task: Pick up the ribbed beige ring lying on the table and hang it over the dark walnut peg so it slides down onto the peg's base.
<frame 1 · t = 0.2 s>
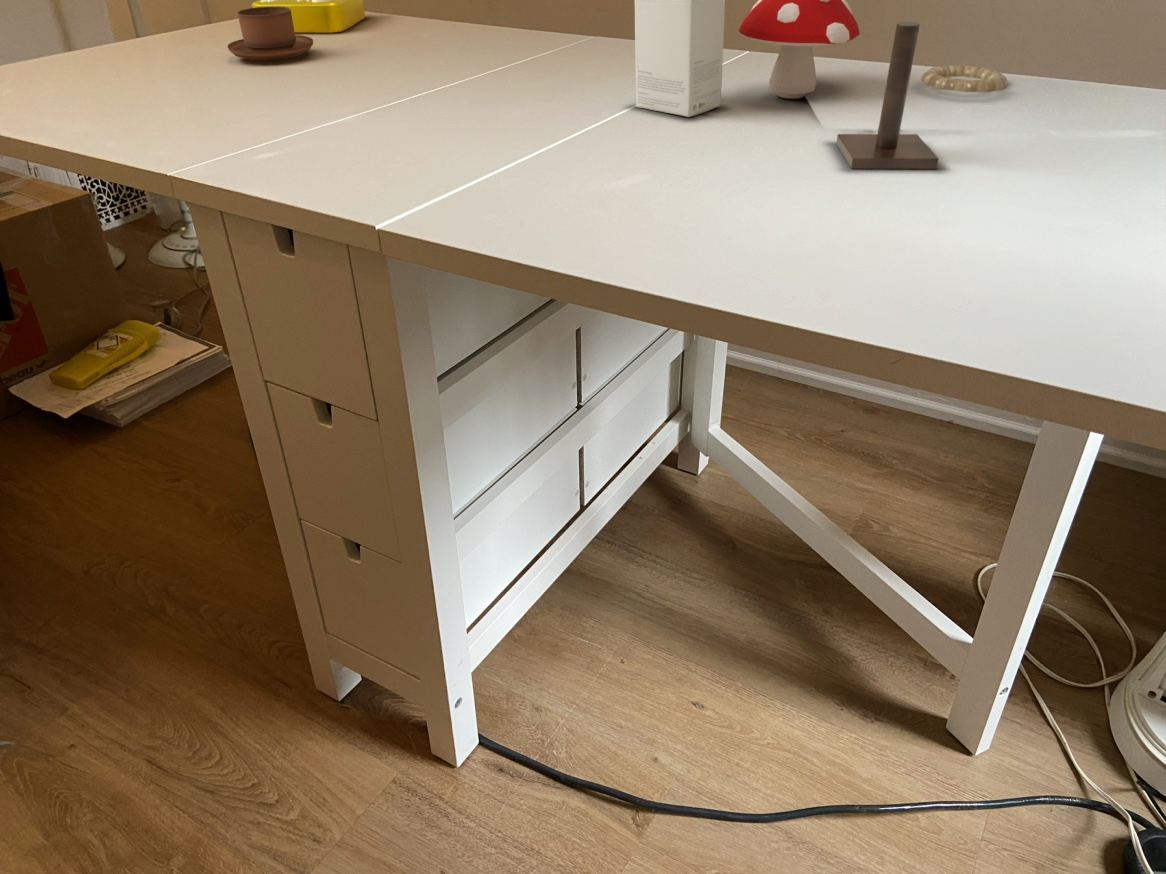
decorative mushroom: (790, 98, 106), on the table
cup and saucer: (273, 58, 129), on the table
ribbed beige ring: (963, 81, 106), point 1 cm above the table
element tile: (313, 26, 149), on the table
cosmetic box: (675, 109, 102), on the table
peg: (884, 156, 86), on the table
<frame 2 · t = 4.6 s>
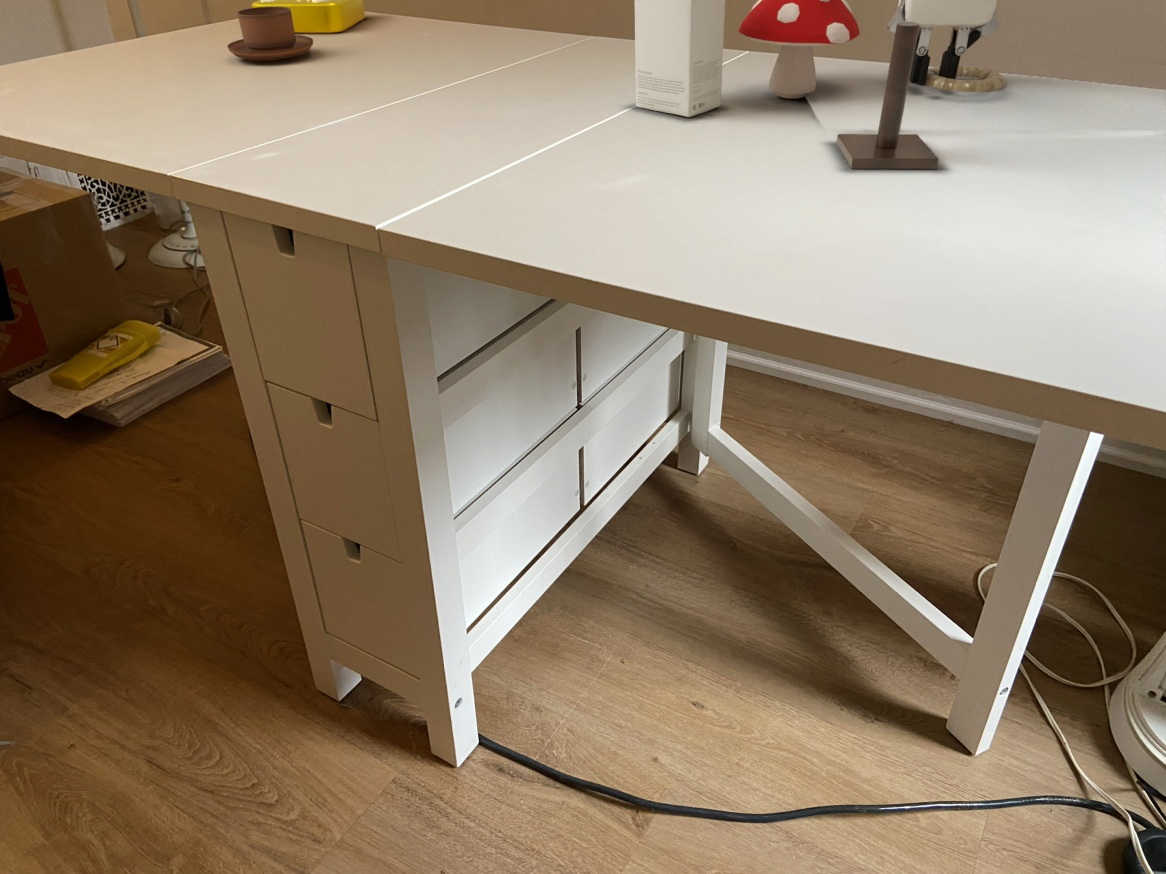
hand: (930, 87, 107), 0 cm above the table, tool pointing down, fingers closed on ribbed beige ring, 2 cm apart
ribbed beige ring: (961, 81, 106), point 1 cm above the table, touching gripper
everything else where it was.
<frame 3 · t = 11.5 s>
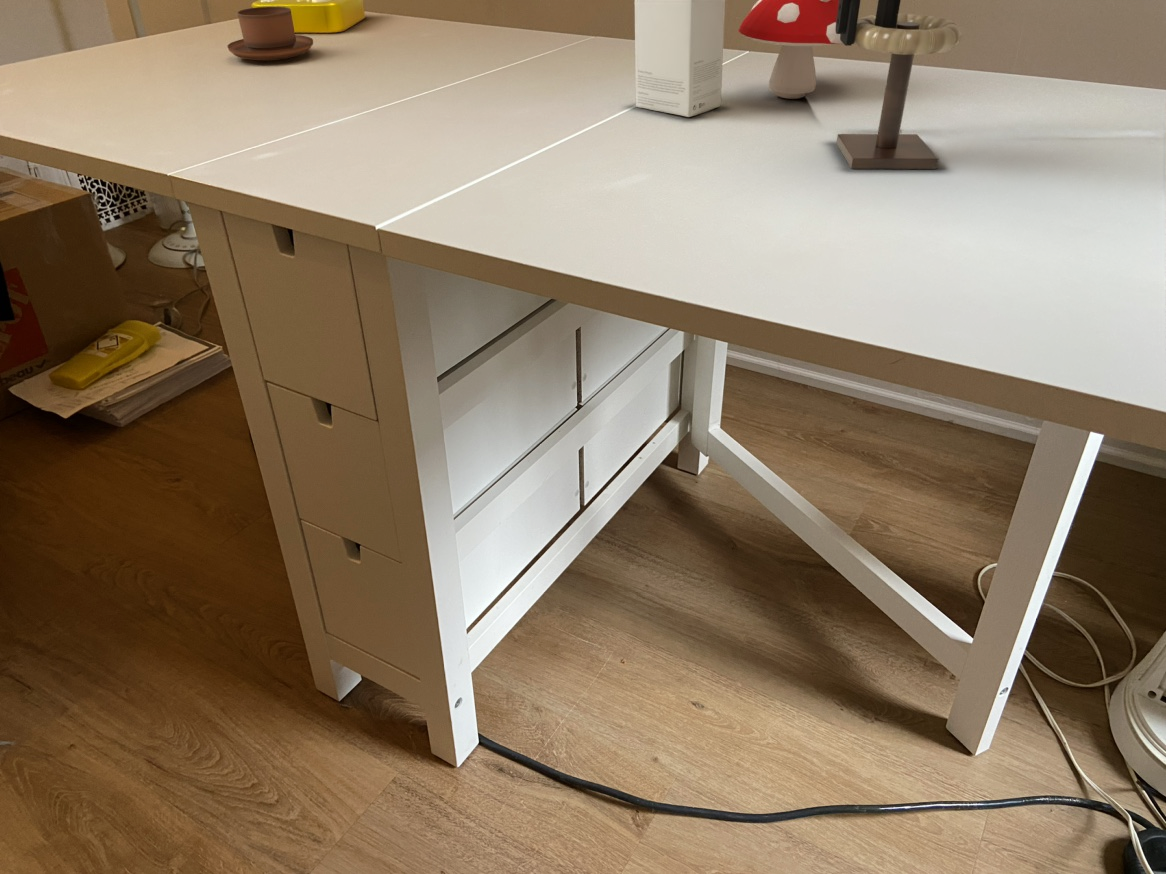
hand: (863, 40, 81), 11 cm above the table, tool pointing down, fingers closed on ribbed beige ring, 2 cm apart
ribbed beige ring: (904, 33, 80), point 11 cm above the table, touching gripper
everything else where it was.
when the fingers open (13 cm above the table, at t = 17.5 s): ribbed beige ring drops 12 cm, resting on peg.
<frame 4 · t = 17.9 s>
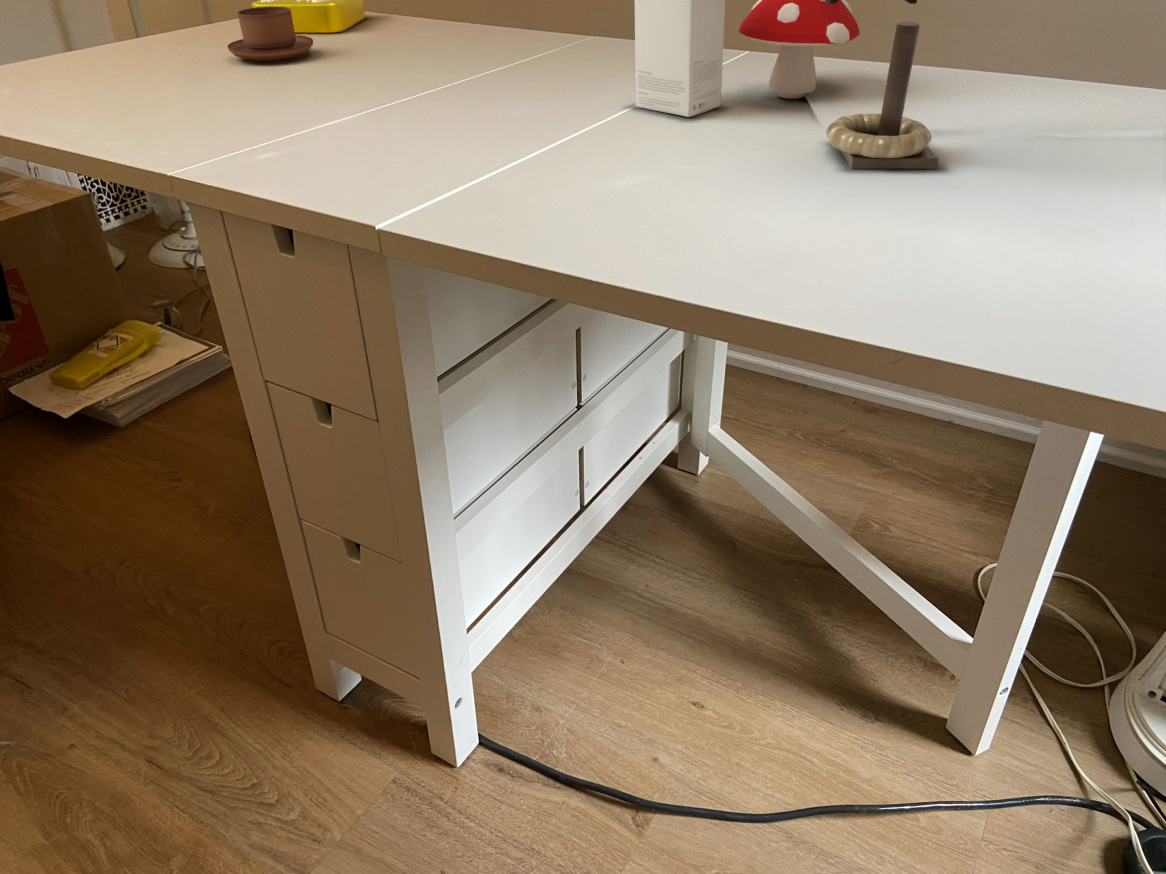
ribbed beige ring: (878, 135, 85), point 2 cm above the table, touching peg
everything else where it was.
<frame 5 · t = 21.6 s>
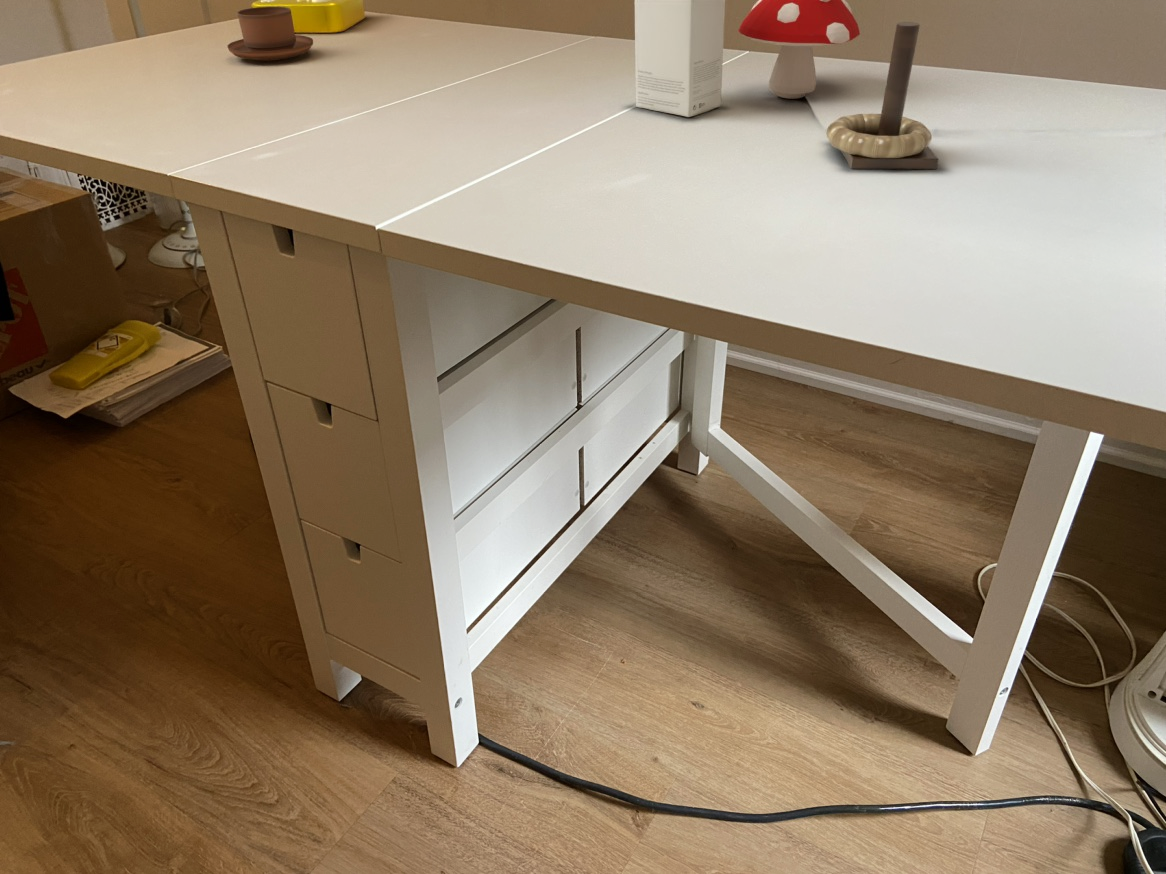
nothing on the table moved.
at the end: ribbed beige ring 0.9 cm from the peg (horizontally); ribbed beige ring point 2.0 cm above the table; the gripper is holding nothing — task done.
